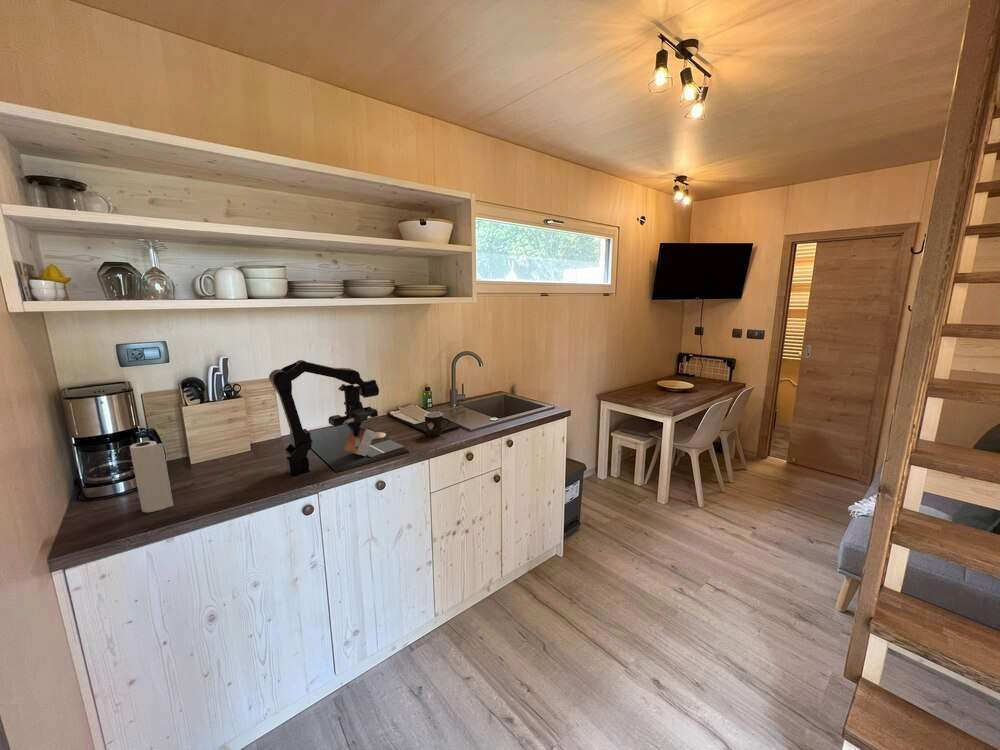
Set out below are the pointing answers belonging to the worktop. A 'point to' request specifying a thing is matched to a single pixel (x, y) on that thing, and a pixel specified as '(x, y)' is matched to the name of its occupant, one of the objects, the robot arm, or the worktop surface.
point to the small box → (360, 442)
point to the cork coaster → (378, 435)
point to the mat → (382, 448)
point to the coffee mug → (434, 423)
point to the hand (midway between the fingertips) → (355, 436)
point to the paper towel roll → (151, 476)
